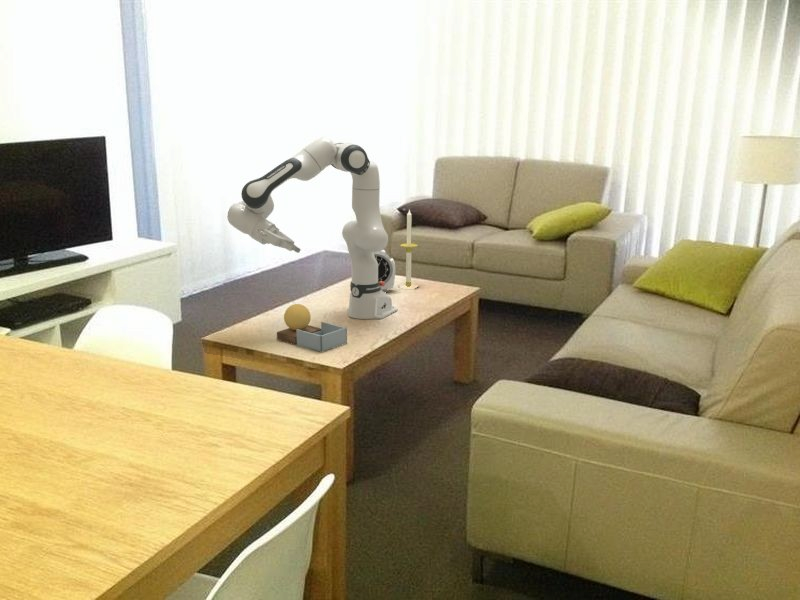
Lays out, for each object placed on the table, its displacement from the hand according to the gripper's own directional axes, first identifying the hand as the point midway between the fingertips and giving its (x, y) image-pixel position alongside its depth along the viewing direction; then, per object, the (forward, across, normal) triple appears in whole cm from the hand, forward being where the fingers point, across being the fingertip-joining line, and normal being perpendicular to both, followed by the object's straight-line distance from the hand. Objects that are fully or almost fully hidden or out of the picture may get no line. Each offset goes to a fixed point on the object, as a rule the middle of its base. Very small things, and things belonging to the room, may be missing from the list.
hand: (295, 250), depth 302 cm
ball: (+12, +3, +22) cm, 25 cm away
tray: (+26, -1, +25) cm, 37 cm away
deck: (+17, +5, +28) cm, 33 cm away
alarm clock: (+20, +78, +4) cm, 80 cm away
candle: (+31, +89, -5) cm, 94 cm away
